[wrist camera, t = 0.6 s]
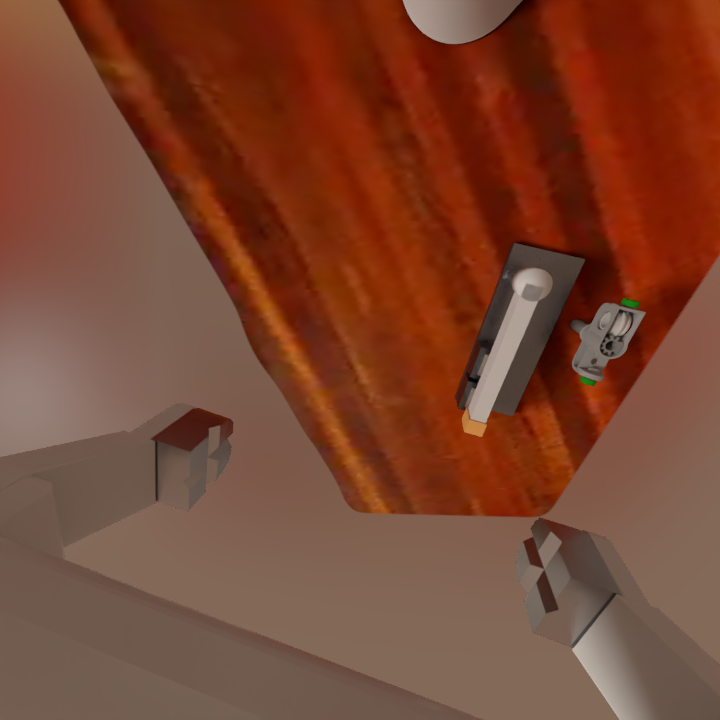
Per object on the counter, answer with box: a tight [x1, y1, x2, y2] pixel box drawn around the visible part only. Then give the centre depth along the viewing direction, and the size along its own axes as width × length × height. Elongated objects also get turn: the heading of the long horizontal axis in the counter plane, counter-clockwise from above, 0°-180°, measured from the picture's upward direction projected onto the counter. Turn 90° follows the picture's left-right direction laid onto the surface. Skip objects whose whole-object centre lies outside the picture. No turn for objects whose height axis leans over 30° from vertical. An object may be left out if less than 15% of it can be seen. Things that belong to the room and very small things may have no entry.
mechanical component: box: [570, 298, 646, 386], centre depth 42 cm, size 3×10×10 cm, turn 167°
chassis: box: [455, 243, 585, 416], centre depth 46 cm, size 24×9×6 cm, turn 168°
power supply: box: [468, 340, 494, 380], centre depth 47 cm, size 5×4×4 cm
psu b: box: [456, 372, 479, 410], centre depth 49 cm, size 5×4×4 cm
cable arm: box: [462, 267, 553, 437], centre depth 42 cm, size 22×4×3 cm, turn 168°
